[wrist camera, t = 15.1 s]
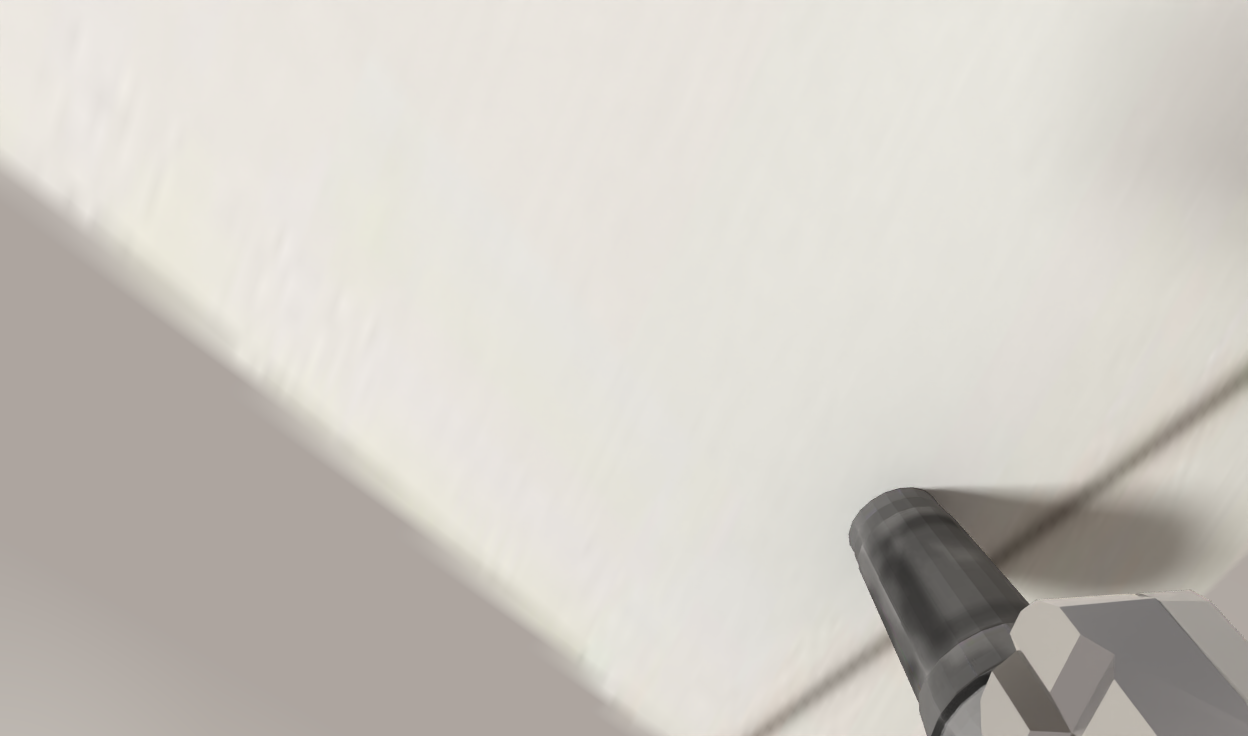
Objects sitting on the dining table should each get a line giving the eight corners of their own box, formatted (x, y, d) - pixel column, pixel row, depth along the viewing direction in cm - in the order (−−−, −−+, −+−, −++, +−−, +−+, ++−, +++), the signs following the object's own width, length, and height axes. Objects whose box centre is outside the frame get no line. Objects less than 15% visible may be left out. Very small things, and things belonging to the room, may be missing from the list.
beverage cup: (923, 436, 52) (1208, 821, 36) (990, 519, 56) (1273, 897, 40) (792, 531, 53) (1011, 942, 37) (867, 604, 58) (1093, 1004, 42)
